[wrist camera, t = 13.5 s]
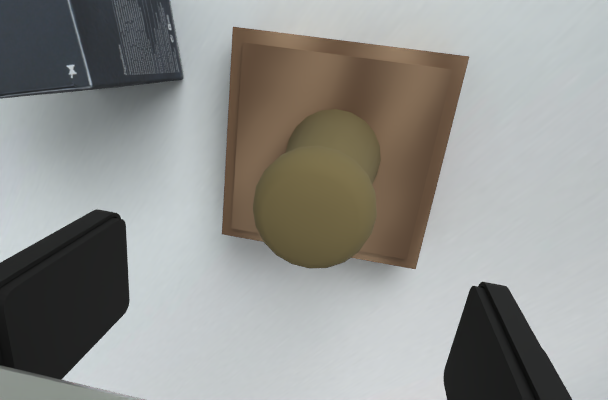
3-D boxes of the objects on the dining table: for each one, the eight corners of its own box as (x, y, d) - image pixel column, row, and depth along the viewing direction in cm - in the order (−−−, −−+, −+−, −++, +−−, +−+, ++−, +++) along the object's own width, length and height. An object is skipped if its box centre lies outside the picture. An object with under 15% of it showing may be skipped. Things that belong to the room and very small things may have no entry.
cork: (318, 217, 27) (288, 314, 17) (268, 142, 26) (202, 197, 16) (398, 172, 25) (419, 250, 15) (348, 89, 24) (333, 112, 14)
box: (170, -6, 28) (59, -40, 18) (186, 79, 29) (94, 91, 20) (70, 9, 29) (-84, -16, 19) (91, 89, 31) (-40, 104, 21)
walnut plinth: (456, 56, 26) (471, 56, 22) (410, 246, 31) (416, 272, 27) (249, 30, 28) (230, 26, 24) (237, 215, 32) (220, 236, 29)
